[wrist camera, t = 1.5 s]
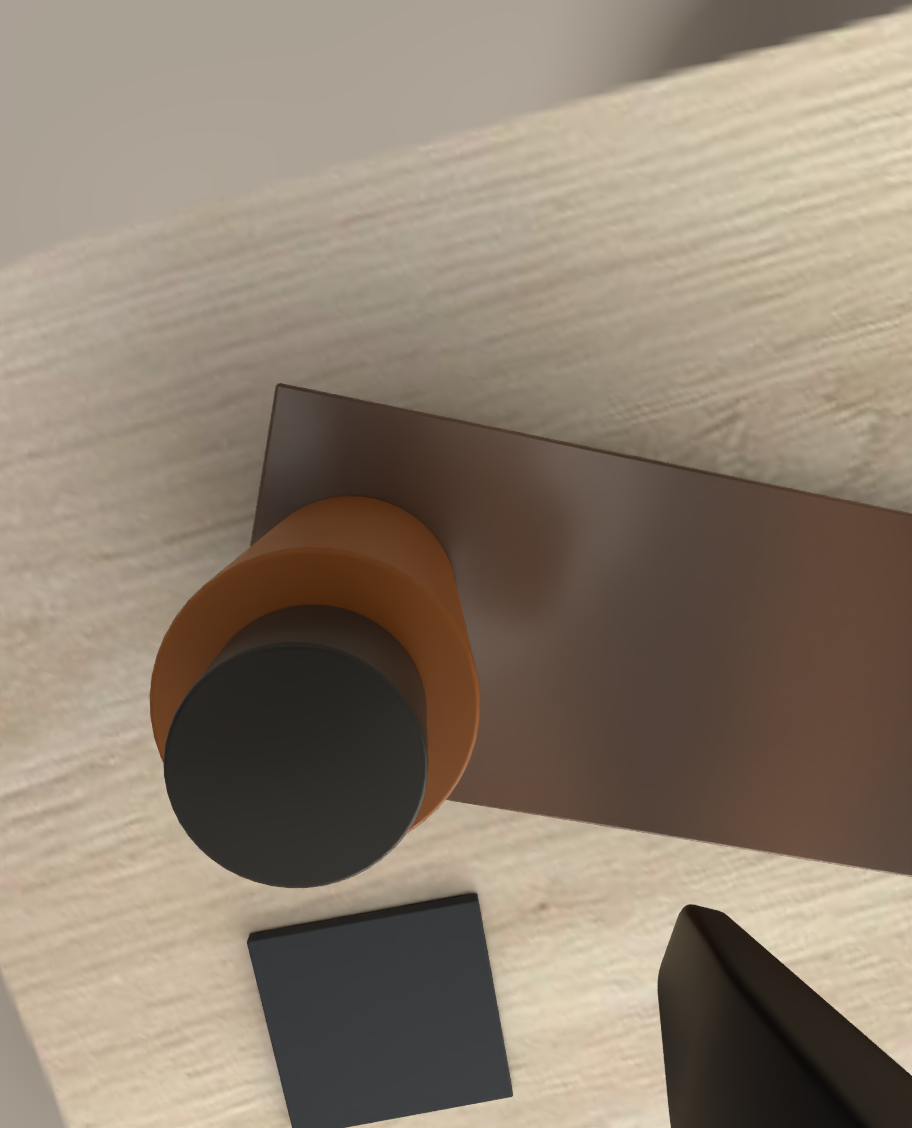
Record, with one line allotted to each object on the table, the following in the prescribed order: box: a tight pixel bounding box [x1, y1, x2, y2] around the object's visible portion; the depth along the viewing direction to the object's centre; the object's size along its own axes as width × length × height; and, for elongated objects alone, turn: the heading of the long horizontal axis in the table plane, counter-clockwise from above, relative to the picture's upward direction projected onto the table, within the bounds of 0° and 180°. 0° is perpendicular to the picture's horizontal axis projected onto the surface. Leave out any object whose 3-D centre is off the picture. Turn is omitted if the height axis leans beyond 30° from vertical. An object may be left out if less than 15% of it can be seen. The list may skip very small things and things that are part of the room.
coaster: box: [247, 894, 513, 1128], centre depth 25 cm, size 7×7×1 cm
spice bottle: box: [150, 496, 480, 888], centre depth 14 cm, size 5×5×9 cm
